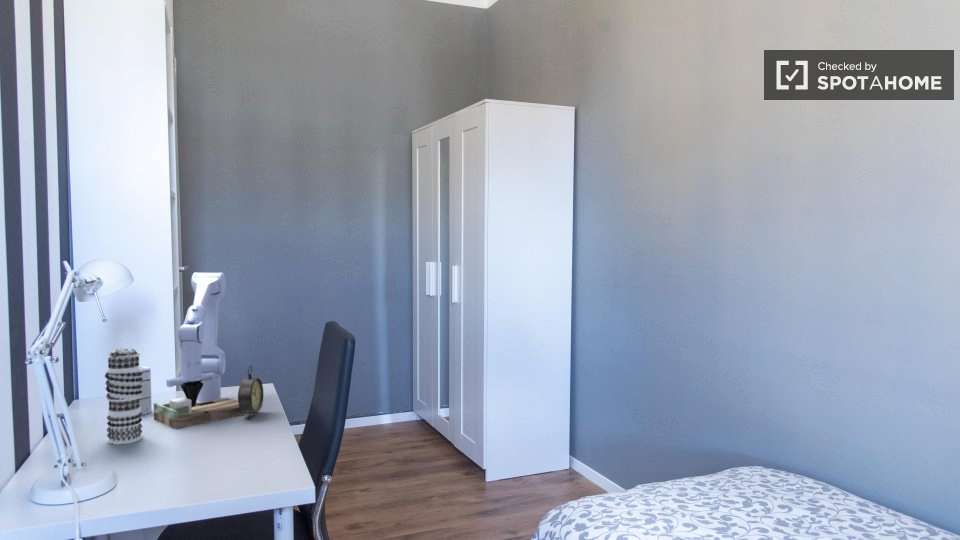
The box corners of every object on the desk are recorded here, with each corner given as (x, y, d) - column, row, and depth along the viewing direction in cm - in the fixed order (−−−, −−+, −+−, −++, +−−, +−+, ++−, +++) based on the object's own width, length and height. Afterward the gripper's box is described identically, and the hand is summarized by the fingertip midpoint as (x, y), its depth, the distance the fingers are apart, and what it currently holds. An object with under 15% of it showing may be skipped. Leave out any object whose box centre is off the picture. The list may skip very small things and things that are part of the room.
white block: (169, 413, 201) (169, 400, 201) (184, 410, 204) (184, 397, 204) (176, 415, 198) (176, 402, 198) (191, 412, 201) (191, 399, 201)
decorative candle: (104, 446, 176) (102, 353, 175) (107, 436, 185) (106, 348, 183) (142, 442, 180) (141, 351, 179) (144, 433, 188) (143, 346, 187)
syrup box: (152, 412, 210) (151, 367, 209) (134, 416, 205) (133, 370, 204) (142, 409, 213) (141, 365, 212) (124, 413, 208) (123, 368, 207)
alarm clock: (252, 420, 202) (252, 368, 201) (234, 420, 202) (234, 368, 201) (264, 411, 213) (264, 361, 212) (248, 411, 213) (247, 361, 212)
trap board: (153, 419, 202) (153, 403, 202) (227, 404, 220) (227, 390, 220) (175, 428, 193) (175, 411, 193) (249, 412, 211) (249, 397, 211)
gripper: (174, 367, 195) (174, 412, 196) (220, 361, 206) (220, 403, 207) (163, 364, 200) (163, 408, 200) (209, 358, 211) (209, 400, 211)
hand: (191, 406), depth 204 cm, fingers closed
